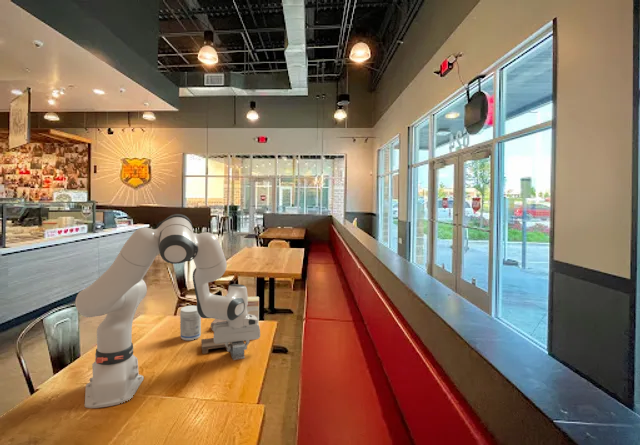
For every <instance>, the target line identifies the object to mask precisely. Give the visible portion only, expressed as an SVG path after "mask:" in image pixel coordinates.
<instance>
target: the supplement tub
mask: <svg viewBox="0 0 640 445" xmlns="http://www.w3.org/2000/svg"><path fill="white" fill-rule="evenodd" d="M179 312H180V314H179V320H180V321H179V322H180V332H179V333H180V335H179V336H180V339H182V340H183V341H194V339H195V340H197V339H199V338H200V337H201V334H202V328H201V327H202V322H201V321H202V319H201V318H202V317H201V316H200V315H199V313H198V311H197V305H186V306H183V307H181V308H180V311H179Z"/></svg>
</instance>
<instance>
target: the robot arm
mask: <svg viewBox="0 0 640 445" xmlns="http://www.w3.org/2000/svg"><path fill="white" fill-rule="evenodd" d="M159 255H160V258H161V259H162V260H163V261H164V262H166V263H167V264H174V265H176V264H182V263H186V262H191V261H192V260H193V262H194V265H195V267H194V268H195V269H194V270H193V271H192V283H193V287H194V293H195V298H196V306H197V311H198V313H199V315H200V316H201V318H203V319H213V320H215V319H220V320H227V321H223V322H217V323H215V324H216V325H215V324H214V325H213V330H212V331H213V338H214V343H215V344H220V343H225V345H226V347H227V352H228V353H229V352H231V346H228V342H237V341H243V342H244V341H245V342H244V344H245V347H244V351H245V350H246V351H247V350H248V346H249V344H250V340H252V341H253V340H258V339H260V337H261V328H260V324H259V325H258V319H257V317H256V316H255V315H251V314H248V312H247V305H248V297H249V295H248V289H247V286H246V285H244V284H240V283H239V284H236V283H232V284H229V285H228V290H227V294H226V295H218V294H213V293H212V292H210V286H209V283H213V282H214V281H217V280H219V279H220V278H221V277H223V275H224V274H225V273H226V270H227V267H228V264H227V263H228V262H227V259H226V256H225V253H224V250H223V248H222V245H221V244H220V241H219V240H218V238H217V236H216V235H215V234H213V233H212V232H209V231H207V232H200V233H197V232H194V226H193V223H192V221H191V219H190V218H189V217H187V215H185V214H182V213H174V214H171V215H169V216H167V218H165V219H164V220H162V221H159V222H158V223H157V224H156V228H150V227H140V228H137V229H136V230H135V231H134V232H133V233H132V234H131V235H130V237H129V238H128V239H127V240H126V242H125V243H124V244H123V246H122V247H121V250H120V251H119V252H118V254H117V256H116V258H115V259H114V261H113V262H112V264H111V265H110V266H109V268H107V270H106V271H105V272H103V273H102V274H101V275H100V276H99V277H98V278H97V279H96V280H95V281H94V282H93V283H91V284H90V285H89V286H87V287H85V288H84V289H82V290H81V291H79V292H78V293H77V295H76V297H75V302H74V303H75V308H76V310H77V312H78V313H79V314H80V315H81V316H82V317H85V318H95V317H101V316H104V315H106V316H105V317H104V319H103V320H102V321H101V322H100V324H98V326H97V329H96V350H95V356H94V357H95V359H94V360H95V361H94V362H92V363H91V366H92V377H90V379H89V382H87V383H86V384H85V389H84V390H85V393H84V394H85V395H84V407H85V408H86V409H99V408H100V409H101V408H107V407H111V406H117V405H120V403H121V404H124V403H126V402H125V401H127V402H129V401H131V400H132V399H133V397H134V396H135V394H136V393H137V391H138V389H139V387H140V386H141V384H142V382H143V381H144V379H145V378H144V375H142V374H139V361H138V360H139V359H138V357H137V356H135V354H134V345H133V342H132V338H133V337H132V332H133V321H134V318H135V317H134V316H135V315H136V312H137V310H138V308H139V305H140V303H141V302H142V301H143V300H144V298H145V297H146V296H147V292H148V291H147V290H148V287H147V284H146V282H145V280H144V277H145V276H146V275H147V272H148V271H149V269H150V267H151V266H152V264H153V263H154V261H155V259H156V258H157V256H159ZM226 347H225V348H226ZM133 395H134V396H133ZM131 398H132V399H131ZM130 399H131V400H130ZM128 400H129V401H128ZM123 402H124V403H123Z"/></svg>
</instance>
